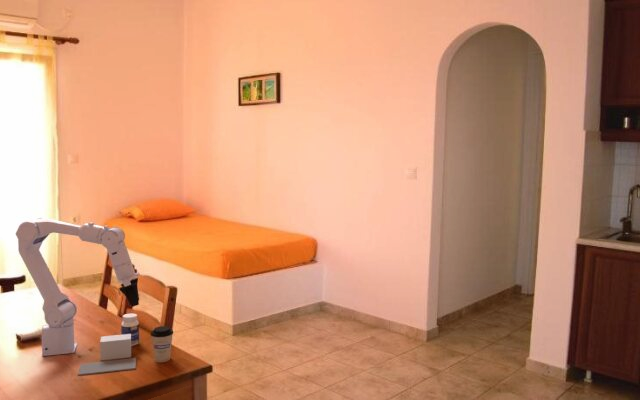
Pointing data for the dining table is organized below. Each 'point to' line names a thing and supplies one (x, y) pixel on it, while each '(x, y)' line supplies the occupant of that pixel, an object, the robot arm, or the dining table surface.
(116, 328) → the dining table surface
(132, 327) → the pill bottle
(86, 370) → the mat
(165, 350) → the coffee cup
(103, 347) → the cover
